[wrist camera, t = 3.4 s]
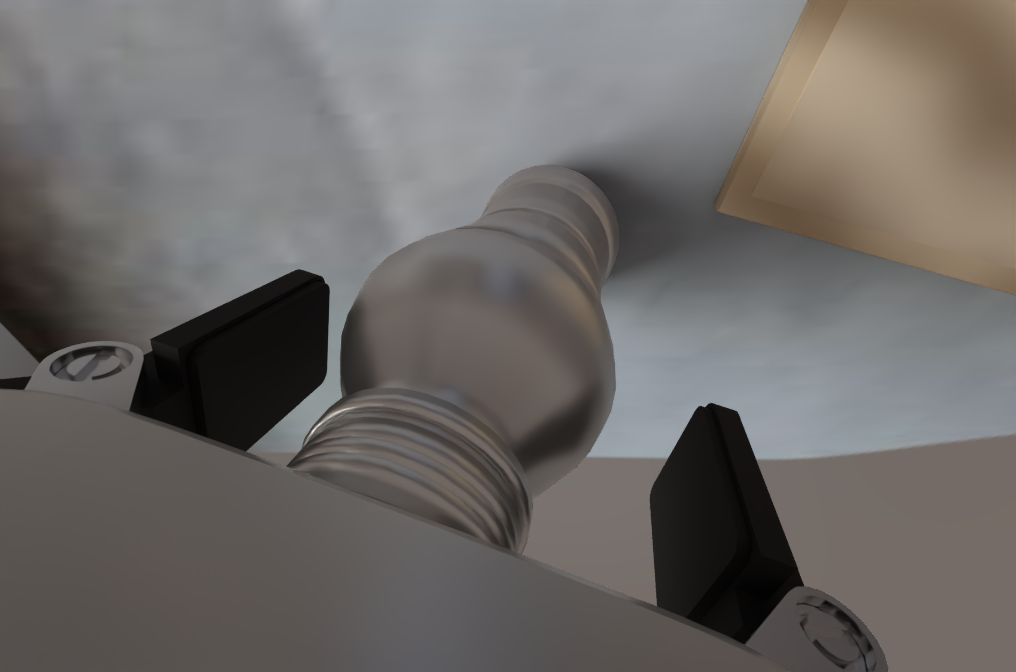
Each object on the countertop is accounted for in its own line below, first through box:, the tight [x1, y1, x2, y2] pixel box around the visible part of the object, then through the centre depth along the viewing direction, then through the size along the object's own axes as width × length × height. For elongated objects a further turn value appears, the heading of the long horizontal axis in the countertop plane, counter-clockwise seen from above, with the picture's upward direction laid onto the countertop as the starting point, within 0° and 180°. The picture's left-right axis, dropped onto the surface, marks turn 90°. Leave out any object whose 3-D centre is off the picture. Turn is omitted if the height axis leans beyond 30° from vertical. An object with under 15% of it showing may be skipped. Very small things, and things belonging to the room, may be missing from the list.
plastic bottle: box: [286, 165, 620, 554], centre depth 14 cm, size 6×7×20 cm
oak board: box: [713, 0, 1016, 295], centre depth 16 cm, size 14×14×1 cm
